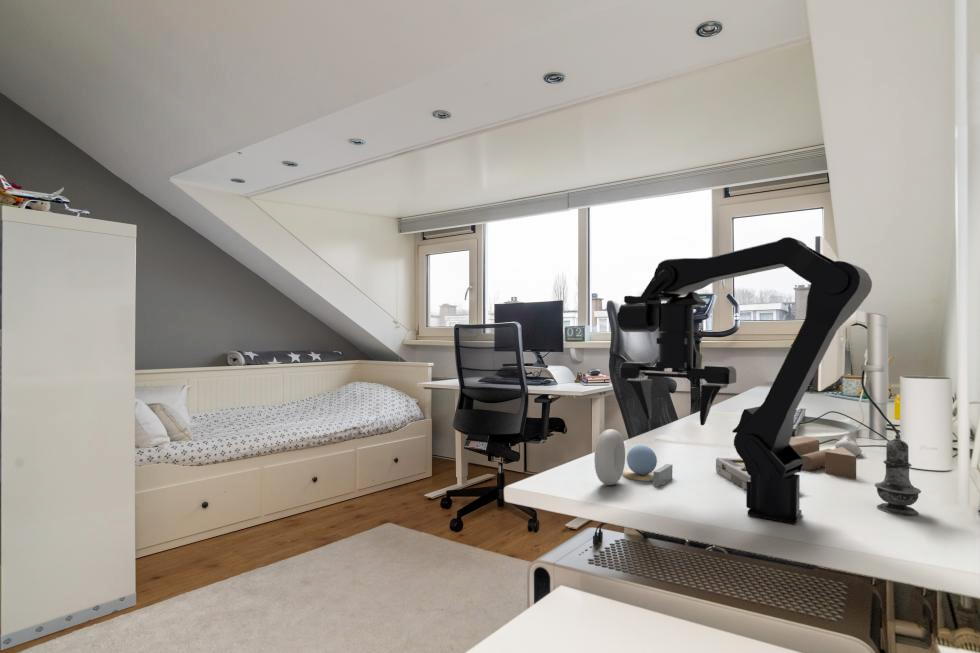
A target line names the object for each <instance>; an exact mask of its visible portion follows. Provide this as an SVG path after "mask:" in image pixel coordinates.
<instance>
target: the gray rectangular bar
mask: <svg viewBox="0 0 980 653" xmlns="http://www.w3.org/2000/svg"><path fill="white" fill-rule="evenodd" d="M653 472H654V475H653V481H652V482H653V486H656V487H660V486H661V485H663V483H664V484H665V483H667V482H669V481H671V479H673V464H669V463H666V464H665V465H663V466H661V467H659V468H657V469H654V470H653Z"/></svg>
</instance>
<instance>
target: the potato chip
mask: <svg viewBox="0 0 980 653" xmlns="http://www.w3.org/2000/svg"><path fill="white" fill-rule="evenodd" d="M653 475H654V471H652V472H651V473H649V474H647V475H639V474H636V473H634V472H633V471H632V470H631V469H629V470H625V471H624V470H623V473H622V476H623V477H624V478H625V479H629V480H634V481H641V482H651V481H652V482H653Z"/></svg>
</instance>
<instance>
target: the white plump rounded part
mask: <svg viewBox="0 0 980 653" xmlns="http://www.w3.org/2000/svg"><path fill="white" fill-rule="evenodd" d="M625 463H626V447H625V440H624V439H623V436H622V434H621V433H620V432H619V431H618V430H616V429H613V428H611V429H610V428H609V429H605V430H604V431H602V432H601V433H600V434H599V436H598V438H597V441H596V444H595V450H594V469H595V473H596V477H597V478H598V480H599V482H600V483H602V484H603V485H605V486H613V485H615V484H617V483H619V481H620V480H621V478H622V476H623V475H622V473H623V472H624V469H625Z"/></svg>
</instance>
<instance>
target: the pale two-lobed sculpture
mask: <svg viewBox="0 0 980 653" xmlns="http://www.w3.org/2000/svg"><path fill="white" fill-rule="evenodd" d="M834 446H835V449H836V448H839V447H844V448H845V449H846V450H848V451H849V452H851V453H852V454H853V455H855V456H856V457H857V456H858V455H859V454H862V452H863V450H862V449H861V447H860V445H859V444H858V443H857V440H856V438H855V437H854V436H853V435H851V434H846V435H843V436H842V437H841V438H840V440H838V441H837V442H835V445H834Z"/></svg>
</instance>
